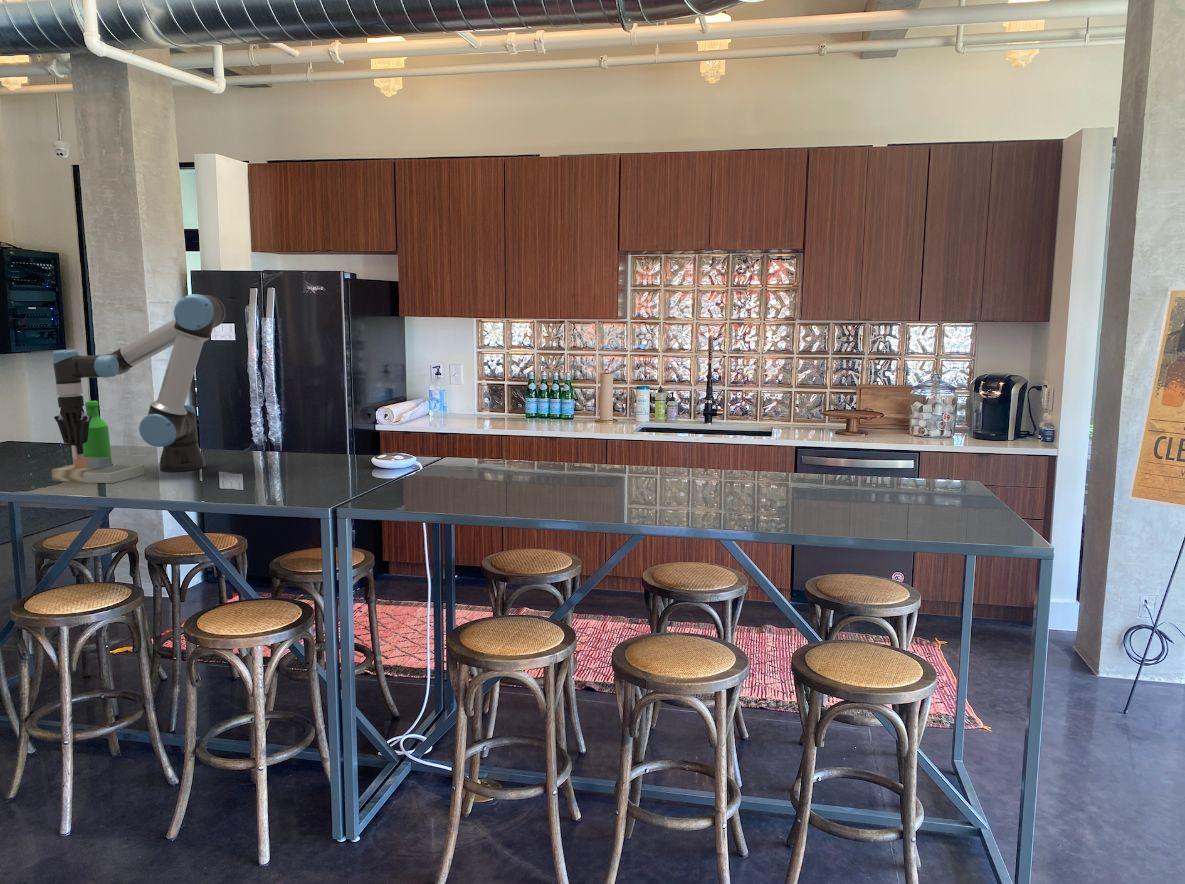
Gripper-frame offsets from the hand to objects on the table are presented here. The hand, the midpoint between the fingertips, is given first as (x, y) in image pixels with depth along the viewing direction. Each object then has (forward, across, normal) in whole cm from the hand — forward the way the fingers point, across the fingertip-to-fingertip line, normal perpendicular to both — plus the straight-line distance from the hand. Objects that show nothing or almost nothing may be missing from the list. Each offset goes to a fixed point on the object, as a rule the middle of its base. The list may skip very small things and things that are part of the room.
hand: (78, 463), depth 297 cm
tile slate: (+1, -8, 0) cm, 8 cm away
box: (+5, -14, 0) cm, 15 cm away
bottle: (+5, +6, -16) cm, 18 cm away
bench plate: (+5, -2, 0) cm, 5 cm away
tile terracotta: (+1, -3, 0) cm, 3 cm away
